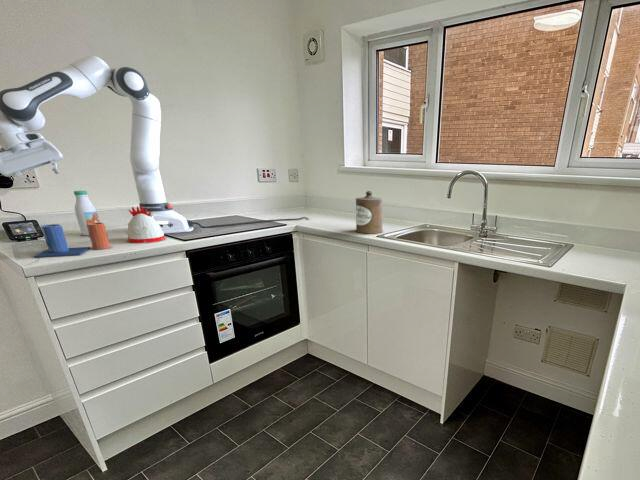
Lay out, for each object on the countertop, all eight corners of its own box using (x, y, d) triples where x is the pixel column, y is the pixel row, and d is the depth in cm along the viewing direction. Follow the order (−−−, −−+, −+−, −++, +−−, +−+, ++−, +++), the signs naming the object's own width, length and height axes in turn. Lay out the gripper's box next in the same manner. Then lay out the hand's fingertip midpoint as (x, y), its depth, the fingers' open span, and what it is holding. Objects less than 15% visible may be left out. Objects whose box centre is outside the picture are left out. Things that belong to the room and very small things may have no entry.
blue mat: (90, 248, 143) (89, 246, 143) (79, 255, 133) (79, 253, 133) (48, 250, 138) (48, 249, 138) (34, 257, 128) (34, 256, 128)
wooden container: (351, 230, 200) (350, 190, 192) (371, 228, 209) (371, 189, 201) (366, 234, 190) (366, 192, 182) (387, 232, 199) (388, 191, 191)
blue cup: (71, 249, 138) (63, 224, 135) (66, 252, 133) (57, 226, 130) (53, 250, 136) (44, 224, 132) (46, 253, 131) (37, 227, 128)
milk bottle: (82, 236, 163) (68, 191, 155) (81, 233, 168) (68, 190, 161) (103, 234, 167) (91, 191, 160) (102, 232, 173) (90, 190, 166)
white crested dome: (133, 237, 165) (125, 204, 159) (167, 236, 170) (160, 204, 164) (124, 243, 153) (115, 208, 147) (161, 242, 158) (153, 208, 152)
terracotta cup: (112, 246, 148) (105, 222, 144) (108, 249, 143) (101, 224, 139) (95, 246, 146) (88, 222, 142) (91, 249, 141) (83, 224, 137)
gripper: (-22, 150, 127) (9, 186, 131) (44, 132, 136) (70, 165, 140) (-14, 156, 132) (15, 190, 137) (48, 137, 141) (74, 170, 146)
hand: (44, 177), depth 139 cm, fingers open, 8 cm apart
